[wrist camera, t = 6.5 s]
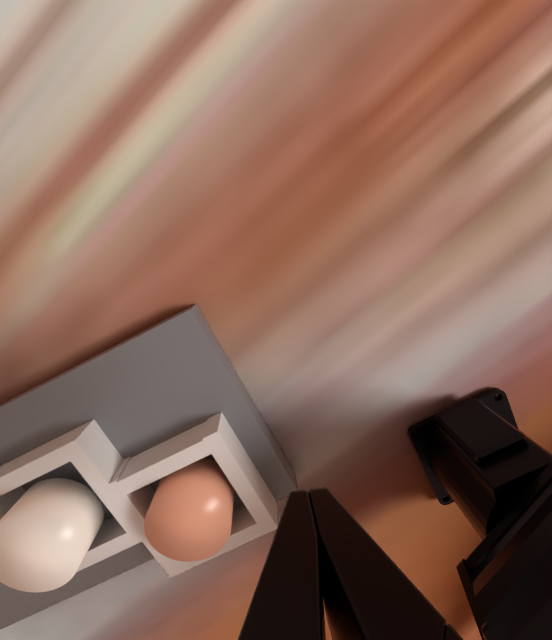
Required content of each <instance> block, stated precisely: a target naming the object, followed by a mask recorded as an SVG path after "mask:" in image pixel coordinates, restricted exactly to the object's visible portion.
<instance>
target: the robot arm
mask: <svg viewBox="0 0 552 640" xmlns="http://www.w3.org/2000/svg"><path fill="white" fill-rule="evenodd" d="M497 394H498V396H497V397H496V398H495V396H496V395H497ZM416 432H418V434H417V435H414V434H415V433H416ZM407 434H408V437H409V439H410V441H411V443H412V446H413V448H414V450H415V452H416V454H417V457H418V459H419V461H420V463H421V465H422V467H423V470H424V472H425V474H426V476H427V478H428V481H429V483H430V485H431V487H432V489H433V491H434V494H435V496H436V498H437V499H438V501H439V502H440V503H441V504H442V505H448V504H450V503H452V502H455V503H456V504H457V506H458V507H459V508H460V510H461V511H462V512H463V514H464V515H465V516H466V518H467V519H468V520H469V522H470V523H471V524H472V526H473V527H474V528H475V530H476V531H477V532H478V534H479V535H480V536H481V538H482V539H483V540H482V541H481V543H480V544H479V545H478V546H477V547H476V548H475V549H474V551H473V552H472V553H471V554H470V555H469V556H468V558H467V559H466V560H465V559H463V560H462V561H461V562H460V563H459V564H458V565H457V570H458V573H459V576H460V579H461V582H462V584H463V587H464V590H465V593H466V596H467V598H468V601H469V604H470V607H471V610H472V612H473V615H474V618H475V621H476V624H477V626H478V629H479V632H480V635H481V638H482V640H552V454H550V453H549V452H548V451H546V450H545V449H544V448H542V447H541V446H539V445H538V444H537V443H535V442H534V441H533V440H531V439H530V438H529V437H527V436H526V435H525V434H523V433H522V432H521V431H520V430H518V427H517V424H516V422H515V419H514V416H513V413H512V410H511V407H510V405H509V402H508V399H507V396H506V394H505V392H503V391H502V390H500V389H498V388H492V389H490V390H488V391H485V392H483V393H481V394H479V395H477V396H475V397H473V398H470V399H468V400H466V401H464V402H462V403H460V404H458V405H455V406H453V407H451V408H449V409H447V410H445V411H443V412H440V413H438V414H436V415H434V416H432V417H430V418H428V419H426V420H423V421H421V422H419V423H417V424H415V425H413V426H411V427H410V428H409V429H408V431H407ZM444 496H445V497H444ZM323 602H324V605H323ZM324 608H325V612H326V616H327V621H328V625H329V629H330V632H331V636H332V640H463V639H462V638H461V636H460V635H459V634H458V633H457V632H456V631H455V630H454V629H453V627H452V626H451V625H449V624H447V625H446V621H445V619H444V618H443V617H442V616H441V614H440V613H439V612H438V611H437V610H436V609H435V608H434V607H433V605H432V604H431V603H430V602H429V601H428V600H427V599H426V598H425V597H424V595H423V594H422V593H421V592H420V591H419V590H418V589H417V588H416V587H415V585H414V584H413V583H412V582H411V581H410V580H409V579H408V578H407V577H406V575H405V574H404V573H403V572H402V571H401V570H400V569H399V568H398V567H397V565H396V564H395V563H394V562H393V561H392V560H391V559H390V558H389V556H388V555H387V554H386V553H385V552H384V551H383V550H382V549H381V548H380V546H379V545H378V544H377V543H376V542H375V541H374V540H373V539H372V538H371V536H370V535H369V534H368V533H367V532H366V531H365V530H364V529H363V528H362V526H361V525H360V524H359V523H358V522H357V521H356V520H355V519H354V517H353V516H352V515H351V514H350V513H349V512H348V511H347V510H346V509H345V507H344V506H343V505H342V504H341V503H340V502H339V501H338V500H337V499H336V497H335V496H334V495H333V494H332V493H331V492H330V491H329V490H328V489H327V488H325V487H322V488H314V489H310V490H309V492H308V491H307V490H297V491H291V492H290V493H289V496H288V499H287V501H286V504H285V507H284V510H283V513H282V516H281V518H280V521H279V524H278V527H277V530H276V533H275V535H274V538H273V541H272V544H271V547H270V550H269V552H268V555H267V558H266V561H265V564H264V567H263V569H262V572H261V575H260V578H259V581H258V584H257V587H256V589H255V592H254V595H253V598H252V601H251V604H250V606H249V609H248V612H247V615H246V618H245V621H244V623H243V626H242V629H241V632H240V635H239V638H238V640H326V634H325V618H324Z"/></svg>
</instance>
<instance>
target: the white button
mask: <svg viewBox="0 0 552 640" xmlns="http://www.w3.org/2000/svg"><path fill="white" fill-rule="evenodd" d="M103 518H104V512H103V507H102V504H101V502H100V500H99V498H98V497H97V495H96V494H95V493H94V492H93V491H92V490H91V489H89V488H88V487H86V486H85V485H83V484H81V483H79V482H77V481H74V480H70V479H65V478H52V479H46V480H43V481H40V482H38V483H36V484H34V485H33V486H31V487H30V488H29V489H28V490H27V491H26V492H25V493H24V494H23V496H22V497H21V498H20V499H19V500H18V501H17V502H16V503H15V504H14V505H13V506H12V508H11V509H10V510H9V511H8V512H7V513H6V514H5V515H4V516H3V517H2V518H1V520H0V582H1V583H3V584H5V585H6V586H9V587H11V588H13V589H16V590H20V591H24V592H36V593H37V592H46V591H51V590H54V589H57V588H59V587H61V586H63V585H65V584H66V583H67V582H69V581H70V580H71V579H72V577H73V576H74V575H75V573H76V571H77V569H78V568H79V566H80V564H81V562H82V560H83V558H84V557H85V555H86V553H87V551H88V549H89V547H90V546H91V544H92V542H93V540H94V538H95V536H96V535H97V533H98V531H99V529H100V527H101V525H102V523H103Z"/></svg>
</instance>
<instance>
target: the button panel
mask: <svg viewBox="0 0 552 640" xmlns="http://www.w3.org/2000/svg"><path fill="white" fill-rule="evenodd" d="M202 458H206V459H210V460H213V461H215V462H217V463H218V464H219V466H220V468H221V469H222V471H223V472H224V474H225V475H226V477H227V478H228V480H229V481H230V483H231V485H232V486H233V488H234V489H235V493H234V503H233V514H232V525H231V533H230V537H229V539H228V541H227V543H226V544H225V545H224V547H223V548H222V549H221V550H220V551H219V552H217V553H216V554H214V555H213V556H211V557H209V558H206V559H203V560H200V561H193V562H183V561H177V560H173V559H170V558H167V557H165V556H163V555H162V554H160V553H159V552H157V551H156V550H155V549H154V548H153V547H152V546H151V545H150V543H149V542H148V540H147V538H146V535H145V531H144V521H145V517H146V514H147V512H148V509H149V507H150V504H151V502H152V499H153V497H154V495H155V492H156V490H157V487H158V485H159V482H160V480H161V478H162V477H164V476H167V475H169V474H171V473H173V472H175V471H177V470H179V469H181V468H183V467H185V466H187V465H189V464H191V463H194V462H196V461H198V460H200V459H202ZM52 478H65V479H70V480H74V481H77V482H79V483H81V484H83V485H85V486H86V487H88V488H89V489H91V490H92V491H93V492H94V493H95V494H96V495H97V497H98V498H99V500H100V502H101V504H102V507H103V512H104V518H103V523H102V525H101V527H100V529H99V531H98V533H97V535H96V536H95V538H94V540H93V542H92V544H91V546H90V547H89V549H88V551H87V553H86V555H85V557H84V558H83V560H82V562H81V564H80V566H79V568H78V569H77V571H76V573H75V575H74V576H73V577H72V579H71V580H70V581H69V582H67V583H66V584H65V585H63V586H61V587H59V588H57V589H54V590H51V591H46V592H37V593H36V592H24V591H20V590H16V589H13V588H11V587H9V586H6V585H5V584H3V583H1V582H0V629H3V628H5V627H7V626H9V625H11V624H13V623H16V622H18V621H20V620H22V619H24V618H26V617H28V616H31V615H33V614H35V613H37V612H39V611H41V610H43V609H46V608H48V607H50V606H52V605H54V604H56V603H59V602H61V601H63V600H65V599H67V598H69V597H71V596H74V595H76V594H78V593H80V592H82V591H84V590H87V589H89V588H91V587H93V586H95V585H97V584H99V583H102V582H104V581H106V580H108V579H110V578H112V577H114V576H117V575H119V574H121V573H123V572H125V571H127V570H130V569H132V568H134V567H136V566H138V565H140V564H142V563H145V562H147V561H149V560H151V559H153V558H155V559H156V560H157V561H158V563H159V564H160V565H161V567H162V568H163V569H164V570H165V572H166V573H167V574H168V576H169V577H170V578H171V577H174V576H176V575H178V574H180V573H182V572H184V571H187V570H189V569H191V568H193V567H195V566H198V565H200V564H202V563H204V562H206V561H208V560H211V559H213V558H215V557H217V556H219V555H221V554H224V553H226V552H228V551H230V550H232V549H235V548H237V547H239V546H241V545H243V544H245V543H248V542H250V541H252V540H254V539H256V538H259V537H261V536H263V535H265V534H267V533H269V532H272V531H274V530H276V529H277V527H278V516H277V502H276V501H278V500H280V499H282V498H284V497H287V496H289V493H290V492H291V491H297V490H298V488H297V481H296V475H295V473H294V471H293V469H292V468H291V466H290V464H289V463H288V461H287V459H286V457H285V456H284V454H283V452H282V451H281V449H280V447H279V445H278V444H277V442H276V440H275V439H274V437H273V435H272V433H271V432H270V430H269V428H268V426H267V425H266V423H265V421H264V420H263V418H262V416H261V414H260V413H259V411H258V409H257V408H256V406H255V404H254V402H253V401H252V399H251V397H250V396H249V394H248V392H247V390H246V389H245V387H244V385H243V383H242V382H241V380H240V378H239V377H238V375H237V373H236V371H235V370H234V368H233V366H232V365H231V363H230V361H229V359H228V358H227V356H226V354H225V353H224V351H223V349H222V347H221V346H220V344H219V342H218V340H217V339H216V337H215V335H214V334H213V332H212V330H211V328H210V327H209V325H208V323H207V322H206V320H205V318H204V316H203V315H202V313H201V311H200V310H199V308H198V306H197V304H194V305H192V306H191V307H189V308H187V309H185V310H183V311H181V312H179V313H177V314H175V315H173V316H171V317H169V318H167V319H165V320H163V321H161V322H160V323H158V324H156V325H154V326H152V327H150V328H148V329H146V330H144V331H142V332H140V333H138V334H136V335H134V336H132V337H130V338H129V339H127V340H125V341H123V342H121V343H119V344H117V345H115V346H113V347H111V348H109V349H107V350H105V351H103V352H101V353H99V354H98V355H96V356H94V357H92V358H90V359H88V360H86V361H84V362H82V363H80V364H78V365H76V366H74V367H72V368H70V369H68V370H67V371H65V372H63V373H61V374H59V375H57V376H55V377H53V378H51V379H49V380H47V381H45V382H43V383H41V384H39V385H37V386H36V387H34V388H32V389H30V390H28V391H26V392H24V393H22V394H20V395H18V396H16V397H14V398H12V399H10V400H8V401H6V402H5V403H3V404H1V405H0V520H1V518H2V517H3V516H4V515H5V514H6V513H7V512H8V511H9V510H10V509H11V508H12V506H13V505H14V504H15V503H16V502H17V501H18V500H19V499H20V498H21V497H22V496H23V494H24V493H25V492H26V491H27V490H28V489H29V488H30V487H31V486H33V485H34V484H36V483H38V482H40V481H43V480H46V479H52Z"/></svg>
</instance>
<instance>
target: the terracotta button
mask: <svg viewBox="0 0 552 640" xmlns="http://www.w3.org/2000/svg"><path fill="white" fill-rule="evenodd" d="M234 493H235V489H234V488H233V486H232V485H231V483H230V481H229V480H228V478H227V477H226V475H225V474H224V472H223V471H222V469H221V468H220V466H219V464H218V463H217V462H215V461H213V460H210V459H206V458H202V459H200V460H198V461H196V462H194V463H191V464H189V465H187V466H185V467H183V468H181V469H179V470H177V471H175V472H173V473H171V474H169V475H167V476H164V477H162V478H161V480H160V482H159V485H158V487H157V490H156V492H155V495H154V497H153V499H152V502H151V504H150V507H149V509H148V512H147V514H146V517H145V521H144V531H145V535H146V538H147V540H148V542H149V543H150V545H151V546H152V547H153V548H154V549H155V550H156V551H157V552H159V553H160V554H162V555H163V556H165V557H167V558H170V559H173V560H177V561H183V562H193V561H200V560H203V559H206V558H209V557H211V556H213V555H214V554H216V553H217V552H219V551H220V550H221V549H222V548H223V547H224V545H225V544H226V543H227V541H228V539H229V537H230V533H231V525H232V514H233V503H234Z"/></svg>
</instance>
